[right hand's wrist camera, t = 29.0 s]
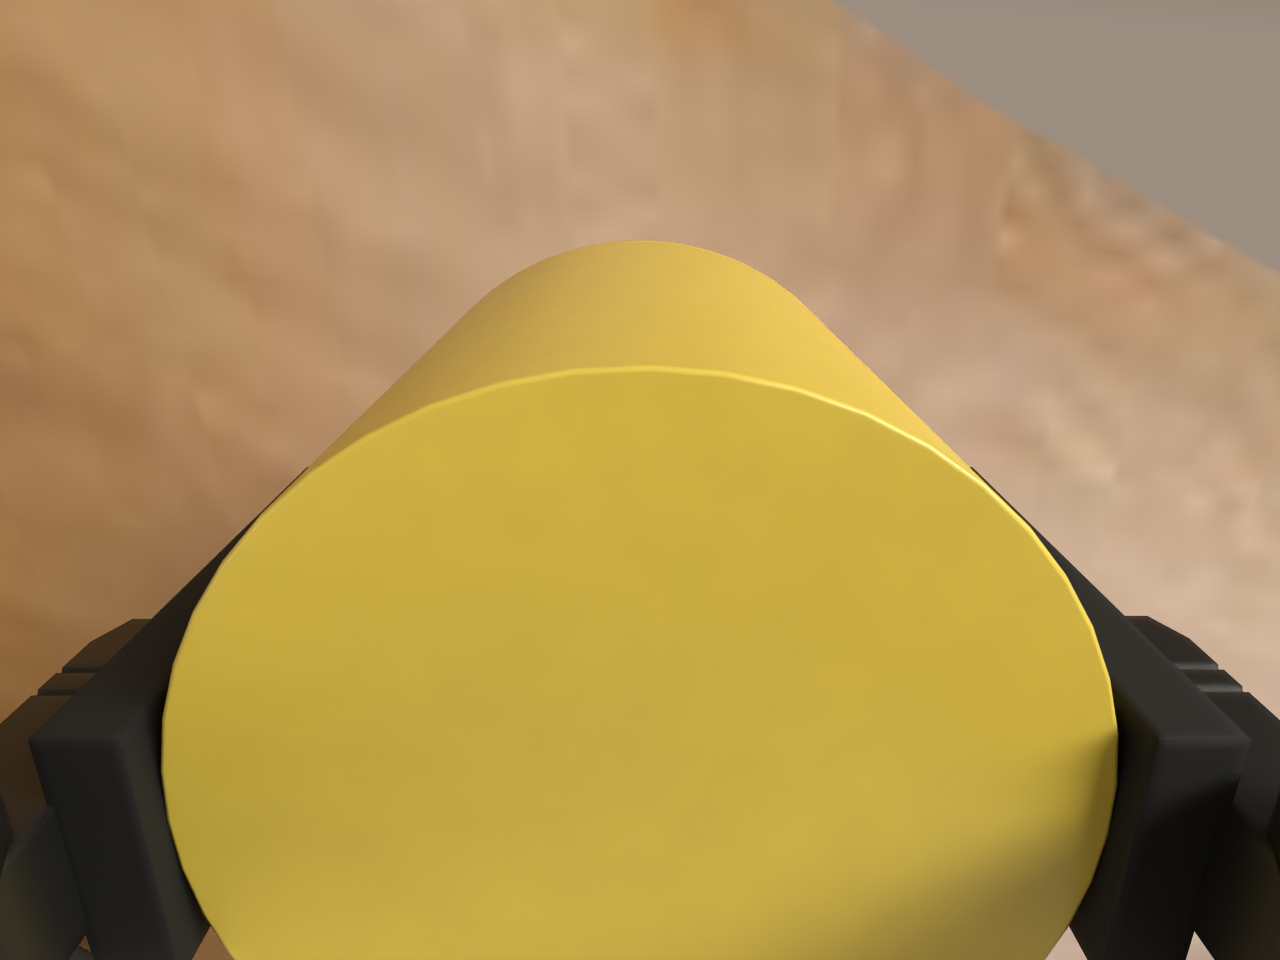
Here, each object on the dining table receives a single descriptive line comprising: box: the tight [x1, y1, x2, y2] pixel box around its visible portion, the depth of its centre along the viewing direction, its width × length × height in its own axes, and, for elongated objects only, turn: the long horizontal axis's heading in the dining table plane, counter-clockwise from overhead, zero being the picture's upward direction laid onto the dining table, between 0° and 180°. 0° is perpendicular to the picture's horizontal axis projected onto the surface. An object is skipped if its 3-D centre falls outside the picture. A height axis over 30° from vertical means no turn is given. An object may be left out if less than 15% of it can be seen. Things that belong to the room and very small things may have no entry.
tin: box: [161, 240, 1118, 960], centre depth 12 cm, size 9×9×9 cm
